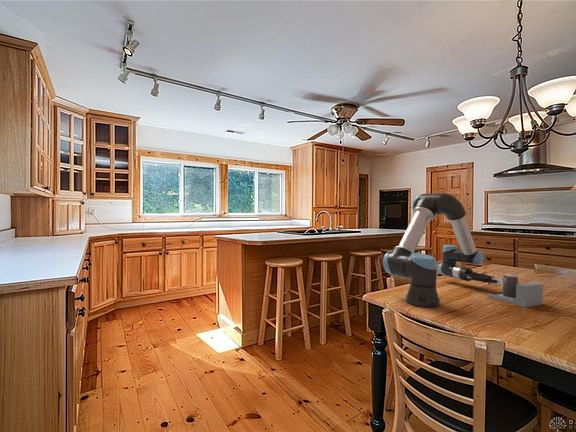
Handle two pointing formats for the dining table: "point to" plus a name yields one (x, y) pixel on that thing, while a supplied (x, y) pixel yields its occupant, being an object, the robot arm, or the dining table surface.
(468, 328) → the dining table surface
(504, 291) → the knob
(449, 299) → the dining table surface
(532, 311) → the dining table surface
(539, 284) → the mount
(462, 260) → the robot arm
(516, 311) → the dining table surface
